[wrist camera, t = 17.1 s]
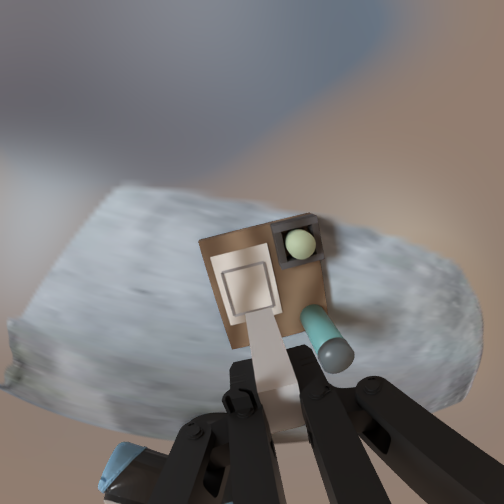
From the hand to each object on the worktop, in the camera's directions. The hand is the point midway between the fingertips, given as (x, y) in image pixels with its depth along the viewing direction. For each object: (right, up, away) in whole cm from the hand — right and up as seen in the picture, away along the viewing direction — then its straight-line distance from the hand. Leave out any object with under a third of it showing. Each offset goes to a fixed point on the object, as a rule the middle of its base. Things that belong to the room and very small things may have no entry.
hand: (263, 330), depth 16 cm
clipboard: (+2, 0, +25) cm, 25 cm away
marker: (+9, -5, +26) cm, 28 cm away
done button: (+5, +6, +22) cm, 23 cm away
